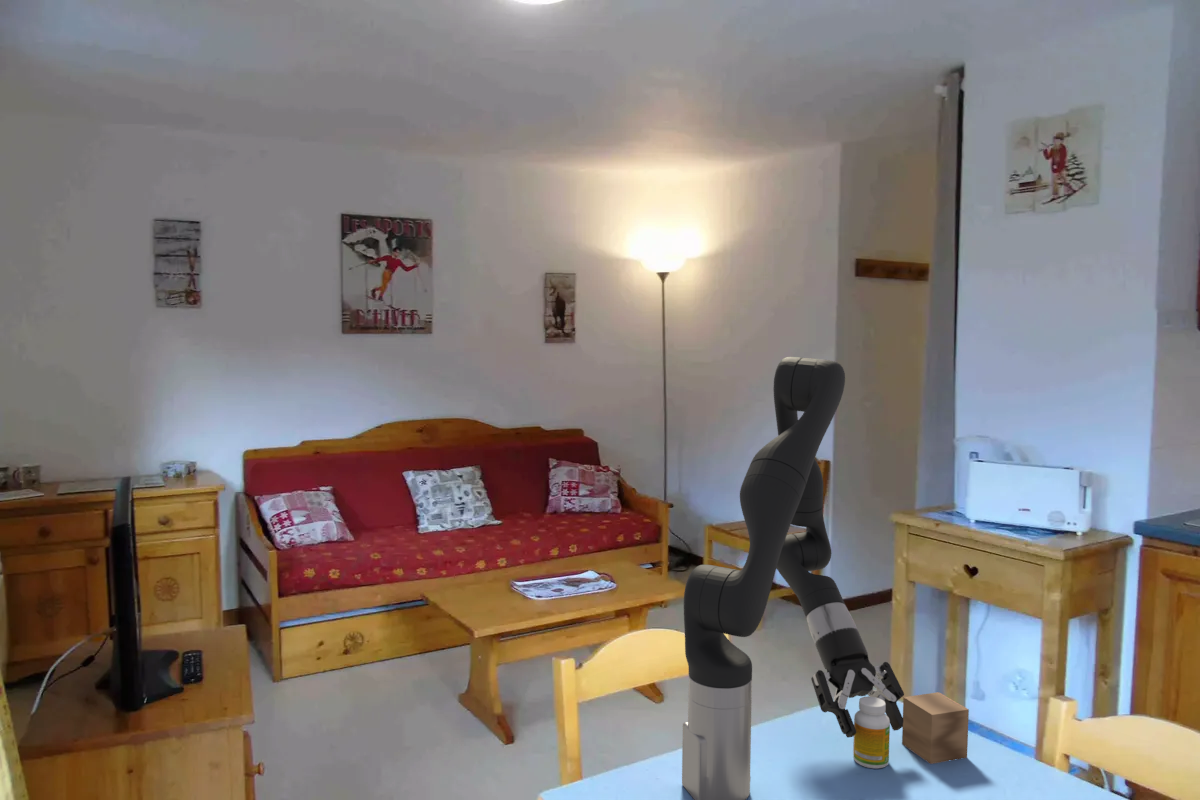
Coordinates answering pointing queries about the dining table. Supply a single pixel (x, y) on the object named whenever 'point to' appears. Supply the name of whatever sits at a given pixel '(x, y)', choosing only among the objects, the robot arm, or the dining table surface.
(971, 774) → the dining table surface
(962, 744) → the walnut block
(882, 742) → the supplement bottle
